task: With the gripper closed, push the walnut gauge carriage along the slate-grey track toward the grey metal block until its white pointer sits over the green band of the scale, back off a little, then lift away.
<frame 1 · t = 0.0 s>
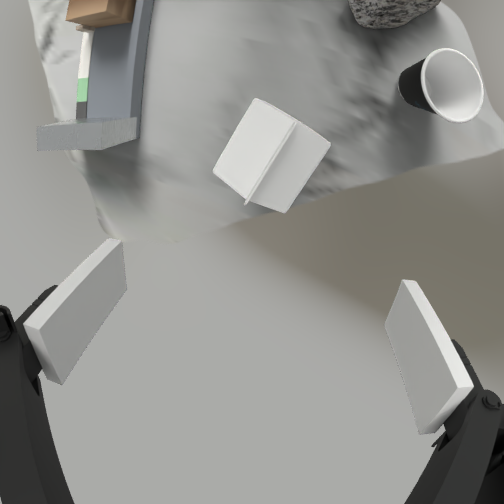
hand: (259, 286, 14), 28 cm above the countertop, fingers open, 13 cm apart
carriage: (99, 3, 25), point 5 cm above the countertop, slide at 0.0 cm
gauge track: (114, 49, 33), on the countertop
grey metal block: (108, 127, 38), resting on gauge track
milk: (275, 133, 37), on the countertop
rock: (392, 1, 27), on the countertop
dixie cup: (413, 87, 32), on the countertop
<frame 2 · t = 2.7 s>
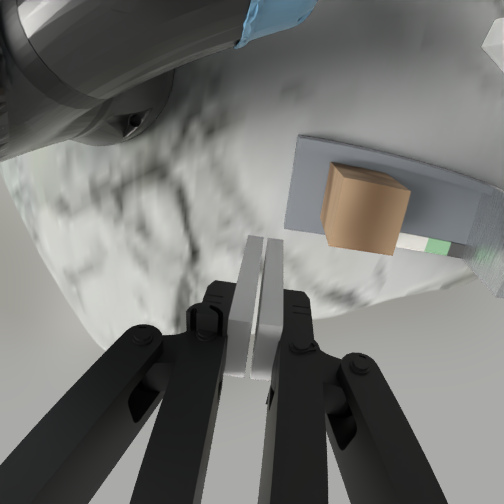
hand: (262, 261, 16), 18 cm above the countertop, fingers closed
carriage: (362, 211, 28), point 5 cm above the countertop, slide at 0.0 cm
gauge track: (403, 201, 32), on the countertop
grey metal block: (476, 219, 32), resting on gauge track
milk: (502, 49, 21), on the countertop
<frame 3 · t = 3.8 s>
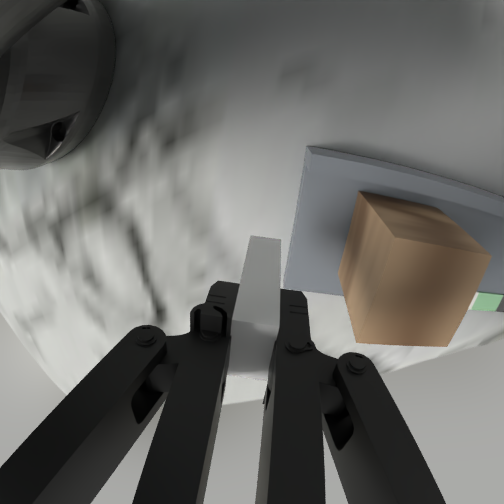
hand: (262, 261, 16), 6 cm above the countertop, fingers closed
carriage: (407, 274, 17), point 5 cm above the countertop, slide at 0.0 cm
gauge track: (452, 244, 21), on the countertop
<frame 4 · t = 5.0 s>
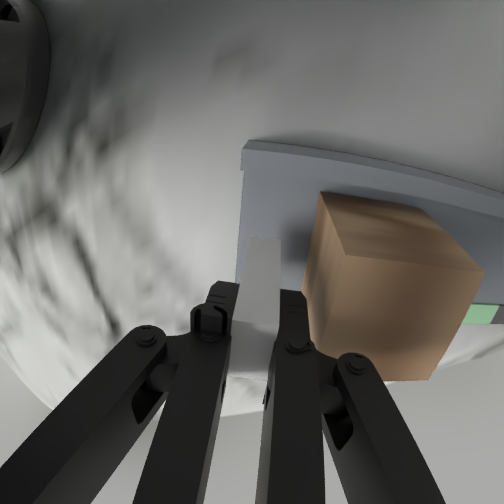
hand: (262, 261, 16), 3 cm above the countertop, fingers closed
carriage: (379, 292, 14), point 5 cm above the countertop, slide at 0.5 cm, touching gripper
gauge track: (436, 250, 18), on the countertop
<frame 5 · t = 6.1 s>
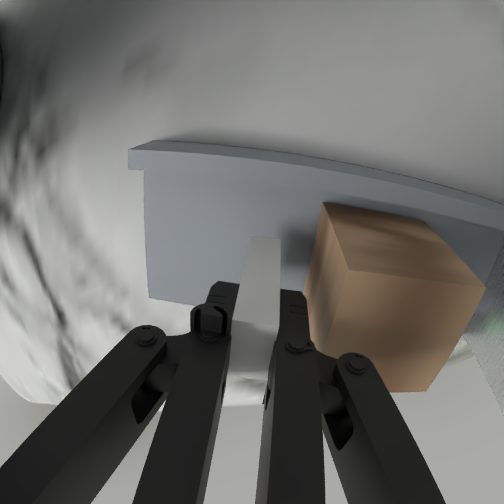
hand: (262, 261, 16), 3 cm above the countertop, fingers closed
carriage: (380, 304, 14), point 5 cm above the countertop, slide at 6.2 cm, touching gripper
gauge track: (361, 249, 18), on the countertop
grey metal block: (493, 270, 18), resting on gauge track
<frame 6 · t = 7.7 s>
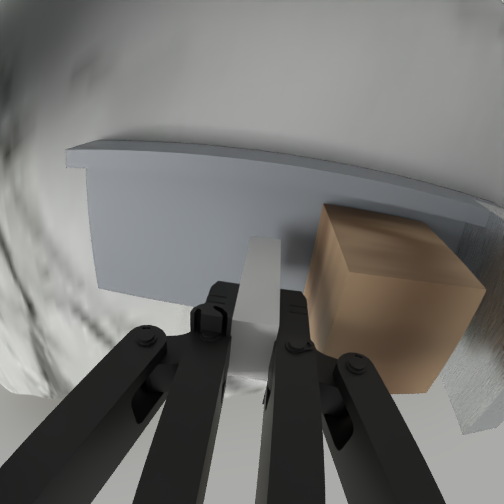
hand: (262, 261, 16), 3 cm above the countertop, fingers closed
carriage: (380, 305, 14), point 5 cm above the countertop, slide at 10.2 cm, touching gripper
gauge track: (298, 241, 18), on the countertop
grey metal block: (456, 265, 18), resting on gauge track
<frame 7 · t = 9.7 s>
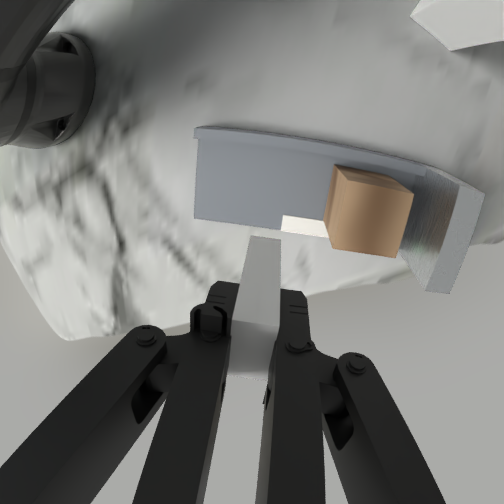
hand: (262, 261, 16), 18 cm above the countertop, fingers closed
carriage: (366, 213, 28), point 5 cm above the countertop, slide at 10.2 cm
gauge track: (320, 187, 32), on the countertop
grey metal block: (415, 206, 32), resting on gauge track
milk: (439, 18, 22), on the countertop
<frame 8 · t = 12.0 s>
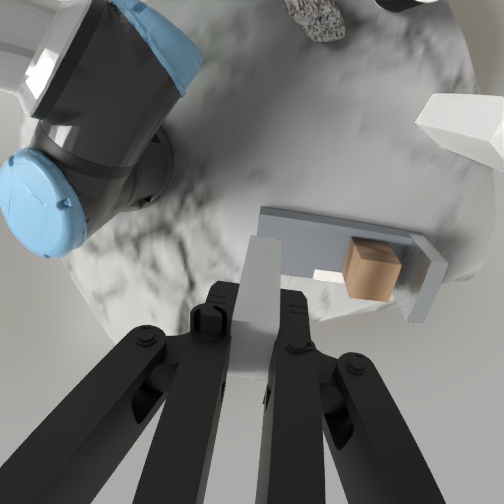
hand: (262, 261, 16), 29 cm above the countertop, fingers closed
carriage: (370, 272, 43), point 5 cm above the countertop, slide at 10.2 cm
gauge track: (340, 249, 47), on the countertop
grey metal block: (404, 259, 47), resting on gauge track
milk: (436, 120, 37), on the countertop
rock: (301, 2, 31), on the countertop
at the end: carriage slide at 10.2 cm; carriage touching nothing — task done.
